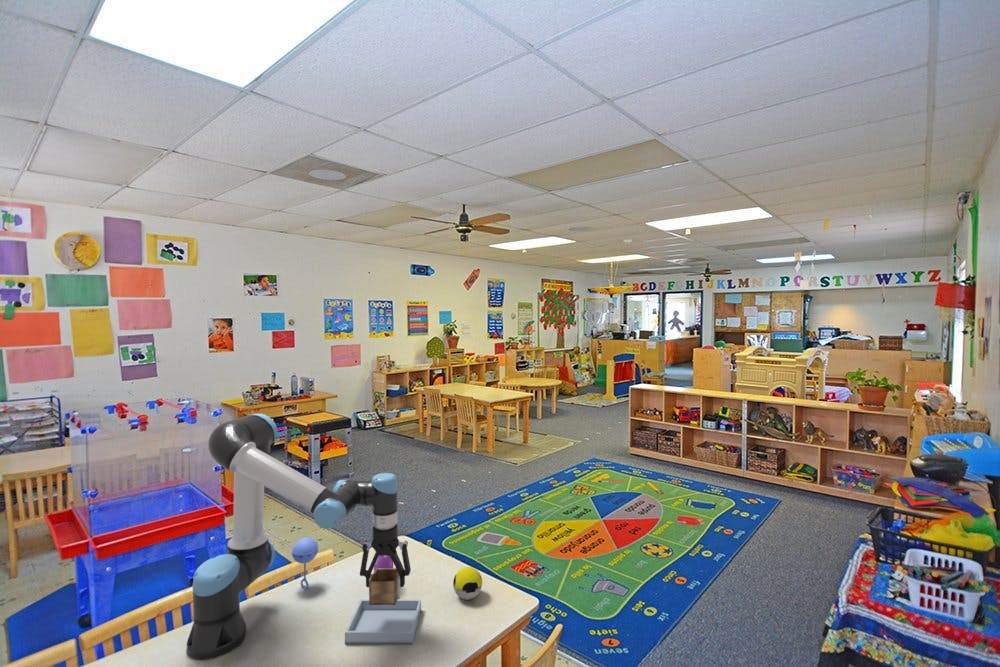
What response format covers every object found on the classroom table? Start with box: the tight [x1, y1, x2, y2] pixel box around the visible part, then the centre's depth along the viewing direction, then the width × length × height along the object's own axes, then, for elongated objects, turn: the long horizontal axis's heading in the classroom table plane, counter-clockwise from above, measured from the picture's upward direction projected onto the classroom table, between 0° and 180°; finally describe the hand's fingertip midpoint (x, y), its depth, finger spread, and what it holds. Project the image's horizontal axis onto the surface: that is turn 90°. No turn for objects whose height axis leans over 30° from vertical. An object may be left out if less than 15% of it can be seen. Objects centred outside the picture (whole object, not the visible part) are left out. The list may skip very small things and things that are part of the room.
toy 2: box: [452, 566, 483, 601], centre depth 160 cm, size 10×10×10 cm
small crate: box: [368, 567, 399, 605], centre depth 144 cm, size 8×8×7 cm
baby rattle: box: [291, 537, 319, 590], centre depth 164 cm, size 9×9×18 cm
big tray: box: [344, 599, 422, 645], centre depth 145 cm, size 20×16×4 cm
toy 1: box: [373, 555, 394, 572], centre depth 163 cm, size 7×7×15 cm
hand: (385, 596), depth 144 cm, fingers closed on small crate, 8 cm apart
